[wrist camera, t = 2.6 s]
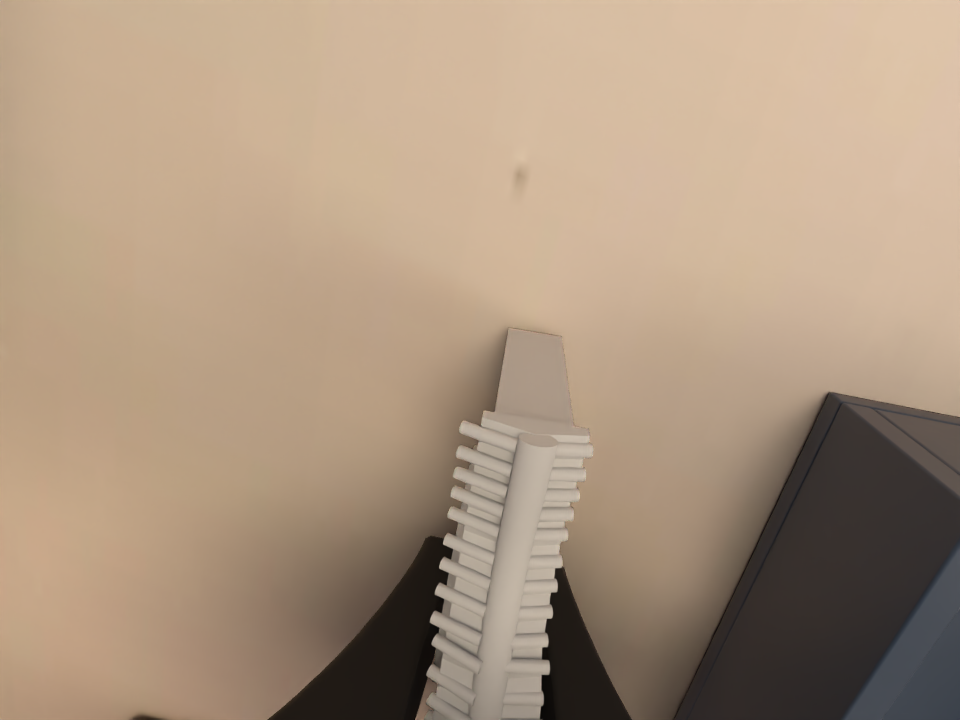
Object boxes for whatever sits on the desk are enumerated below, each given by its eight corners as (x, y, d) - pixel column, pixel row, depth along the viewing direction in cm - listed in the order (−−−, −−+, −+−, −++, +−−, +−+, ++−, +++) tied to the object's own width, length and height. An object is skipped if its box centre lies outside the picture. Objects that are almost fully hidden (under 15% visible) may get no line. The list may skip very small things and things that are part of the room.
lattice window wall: (491, 706, 15) (466, 1012, 10) (432, 693, 15) (373, 990, 10) (578, 322, 11) (618, 493, 5) (492, 307, 11) (447, 462, 5)
